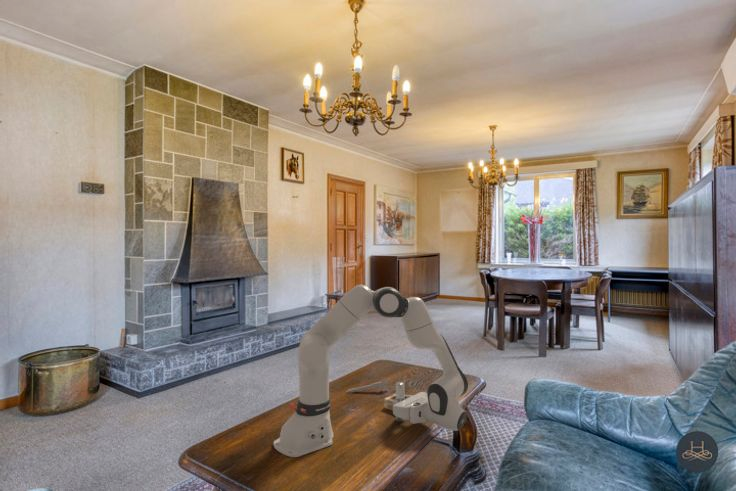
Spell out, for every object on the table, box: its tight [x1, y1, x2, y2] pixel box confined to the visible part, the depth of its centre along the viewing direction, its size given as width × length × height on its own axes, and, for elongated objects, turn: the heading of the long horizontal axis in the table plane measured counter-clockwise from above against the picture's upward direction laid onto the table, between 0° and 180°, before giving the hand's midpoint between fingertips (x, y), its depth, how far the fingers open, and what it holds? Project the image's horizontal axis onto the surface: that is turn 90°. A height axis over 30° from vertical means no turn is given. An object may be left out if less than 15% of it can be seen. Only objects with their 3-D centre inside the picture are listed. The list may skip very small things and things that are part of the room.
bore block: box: [383, 393, 396, 412], centre depth 174 cm, size 9×9×4 cm
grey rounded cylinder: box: [395, 381, 406, 423], centre depth 162 cm, size 4×4×15 cm
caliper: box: [345, 378, 388, 394], centre depth 192 cm, size 20×1×6 cm, turn 95°
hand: (398, 399), depth 162 cm, fingers open, 4 cm apart
